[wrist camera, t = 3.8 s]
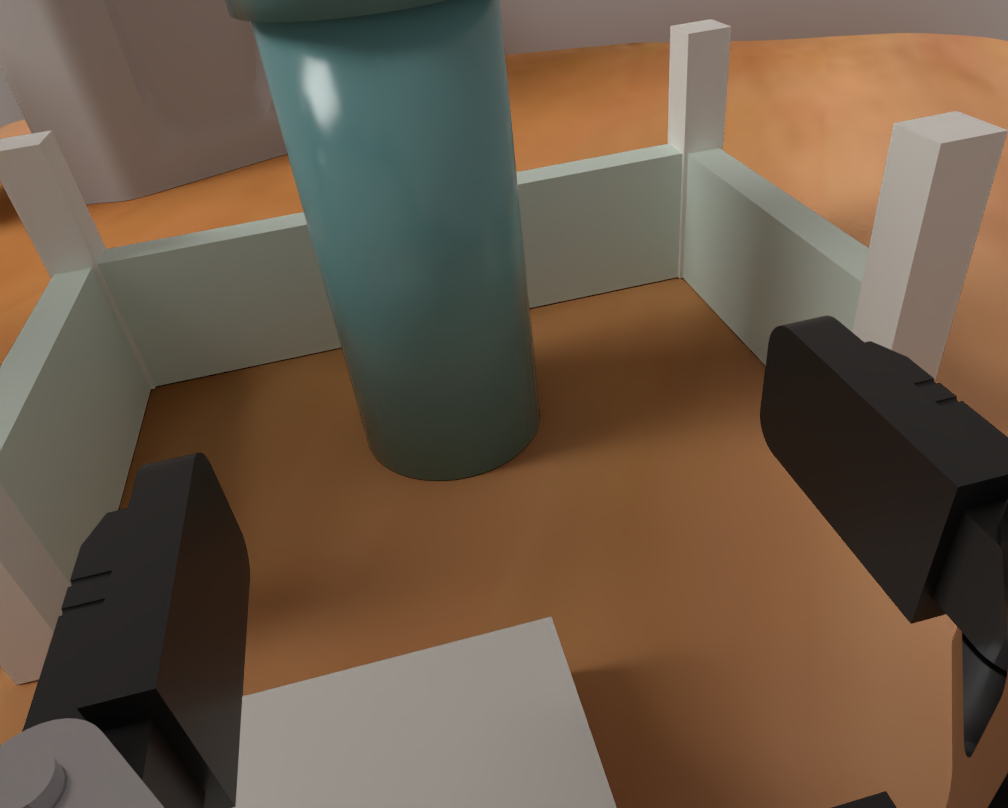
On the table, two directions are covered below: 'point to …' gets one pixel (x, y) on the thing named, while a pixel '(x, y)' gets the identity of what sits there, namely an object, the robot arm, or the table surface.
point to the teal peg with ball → (411, 217)
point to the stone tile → (428, 732)
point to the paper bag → (140, 90)
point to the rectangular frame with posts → (550, 279)
